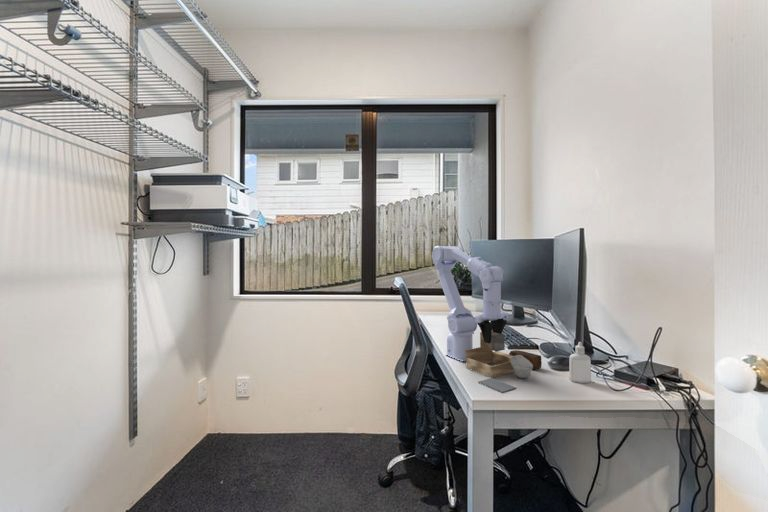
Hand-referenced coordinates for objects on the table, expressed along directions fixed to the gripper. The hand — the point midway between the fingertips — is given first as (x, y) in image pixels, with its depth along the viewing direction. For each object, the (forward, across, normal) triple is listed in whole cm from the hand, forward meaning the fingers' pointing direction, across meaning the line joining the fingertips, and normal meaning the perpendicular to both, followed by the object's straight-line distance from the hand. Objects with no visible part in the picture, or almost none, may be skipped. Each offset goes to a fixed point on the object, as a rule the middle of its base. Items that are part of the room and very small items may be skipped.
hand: (492, 341), depth 115 cm
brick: (+10, +13, -3) cm, 16 cm away
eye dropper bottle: (+10, +14, -22) cm, 28 cm away
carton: (+9, +1, 0) cm, 9 cm away
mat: (+9, -10, -10) cm, 17 cm away
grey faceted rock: (+10, +2, -10) cm, 14 cm away
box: (+2, 0, 0) cm, 2 cm away
